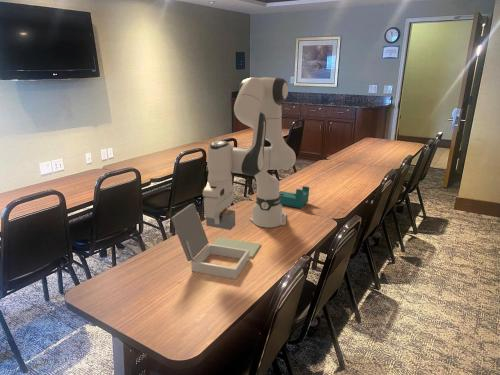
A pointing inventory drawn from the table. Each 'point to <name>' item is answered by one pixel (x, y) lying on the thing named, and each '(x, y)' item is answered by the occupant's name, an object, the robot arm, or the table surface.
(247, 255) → the equipment case
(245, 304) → the table surface
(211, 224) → the module
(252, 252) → the sage mat
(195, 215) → the case lid
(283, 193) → the teal l-shaped bracket
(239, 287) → the table surface
